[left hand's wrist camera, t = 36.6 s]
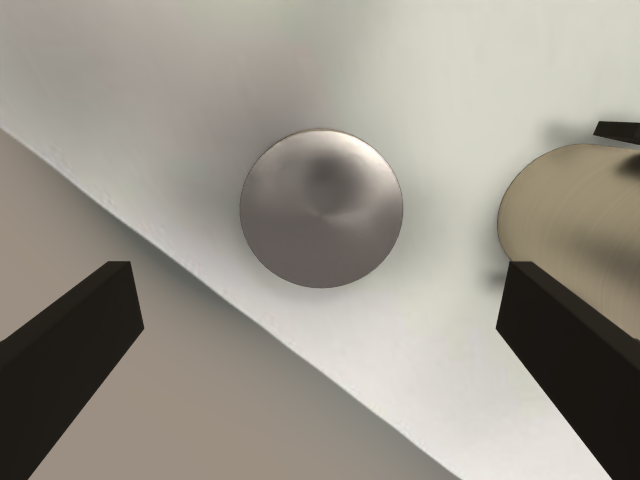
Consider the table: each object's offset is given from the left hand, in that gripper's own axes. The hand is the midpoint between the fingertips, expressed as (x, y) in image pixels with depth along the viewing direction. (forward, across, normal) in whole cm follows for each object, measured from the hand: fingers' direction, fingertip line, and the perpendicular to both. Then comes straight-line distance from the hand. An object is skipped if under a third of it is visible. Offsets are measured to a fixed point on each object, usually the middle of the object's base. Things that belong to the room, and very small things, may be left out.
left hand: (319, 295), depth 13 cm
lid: (+13, 0, -1) cm, 13 cm away
